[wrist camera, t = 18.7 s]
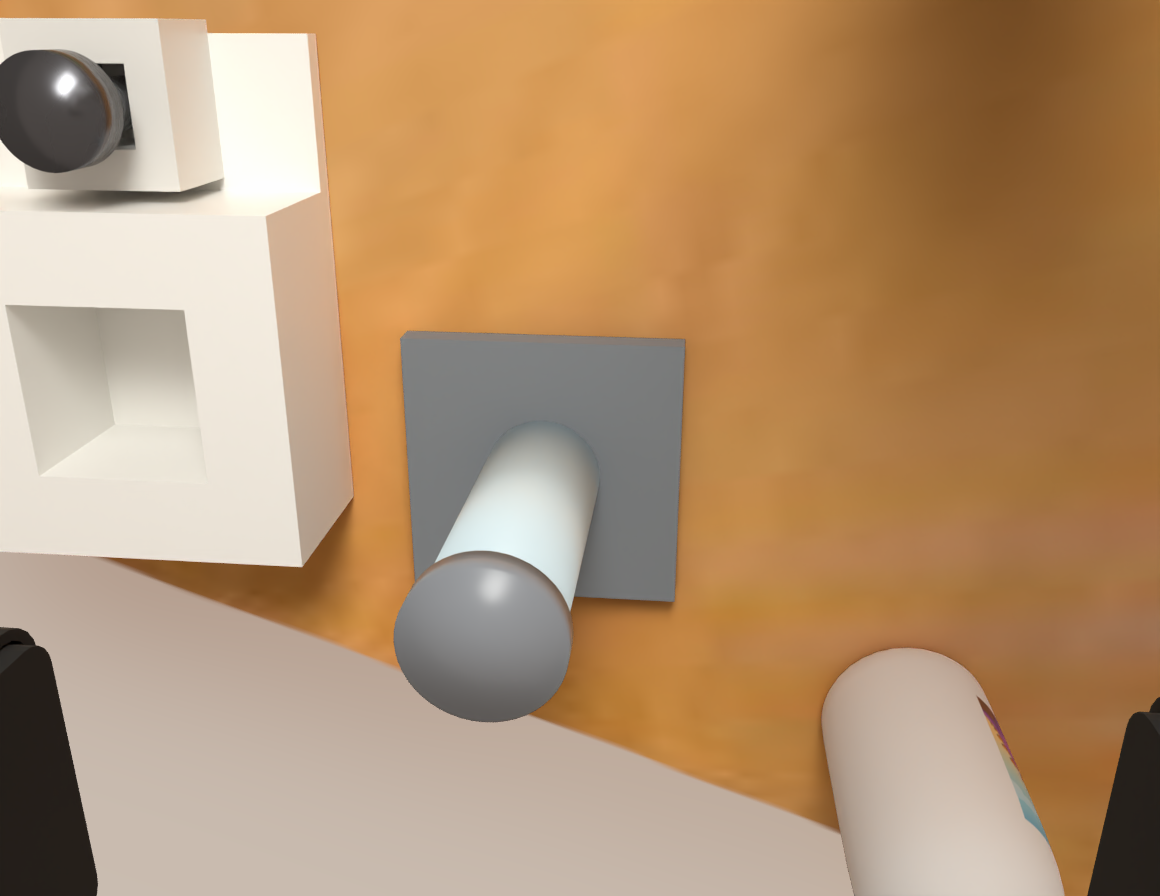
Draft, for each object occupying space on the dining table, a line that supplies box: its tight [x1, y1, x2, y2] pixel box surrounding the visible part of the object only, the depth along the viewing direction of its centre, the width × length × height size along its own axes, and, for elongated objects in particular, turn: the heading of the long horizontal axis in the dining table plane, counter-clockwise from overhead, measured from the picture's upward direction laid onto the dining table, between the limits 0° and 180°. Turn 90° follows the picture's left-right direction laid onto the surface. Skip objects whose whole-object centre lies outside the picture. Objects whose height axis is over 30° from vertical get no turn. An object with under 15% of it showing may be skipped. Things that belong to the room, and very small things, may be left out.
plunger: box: [0, 49, 133, 173], centre depth 39 cm, size 4×4×6 cm
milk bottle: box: [821, 647, 1065, 896], centre depth 41 cm, size 8×8×20 cm
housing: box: [0, 18, 354, 567], centre depth 43 cm, size 20×14×7 cm
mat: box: [400, 331, 685, 602], centre depth 47 cm, size 12×12×1 cm
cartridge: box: [394, 421, 600, 722], centre depth 40 cm, size 6×6×14 cm
